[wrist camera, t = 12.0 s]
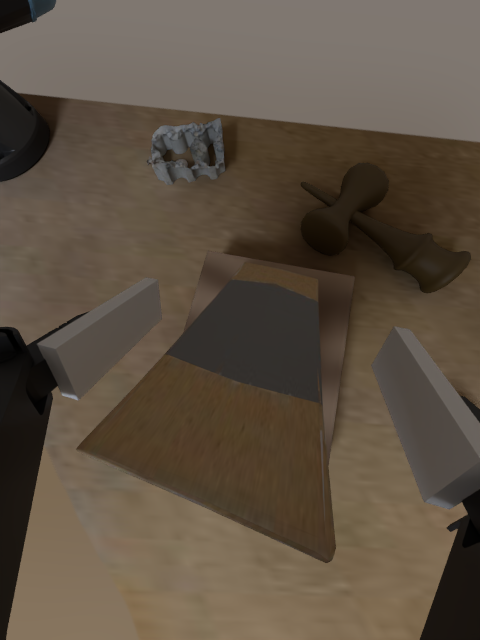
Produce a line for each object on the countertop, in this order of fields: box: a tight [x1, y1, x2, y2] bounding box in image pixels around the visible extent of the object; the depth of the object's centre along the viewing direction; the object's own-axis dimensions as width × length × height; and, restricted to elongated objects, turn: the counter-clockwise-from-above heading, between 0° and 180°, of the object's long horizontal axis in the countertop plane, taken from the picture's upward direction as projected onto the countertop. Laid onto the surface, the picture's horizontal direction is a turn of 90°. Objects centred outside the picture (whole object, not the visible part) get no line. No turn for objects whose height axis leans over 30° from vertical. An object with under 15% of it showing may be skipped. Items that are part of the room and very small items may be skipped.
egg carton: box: [147, 118, 225, 185], centre depth 32 cm, size 11×8×4 cm
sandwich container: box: [76, 262, 336, 563], centre depth 15 cm, size 9×15×15 cm, turn 163°
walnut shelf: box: [183, 251, 355, 465], centre depth 24 cm, size 20×16×4 cm
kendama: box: [301, 163, 471, 293], centre depth 26 cm, size 6×10×20 cm
